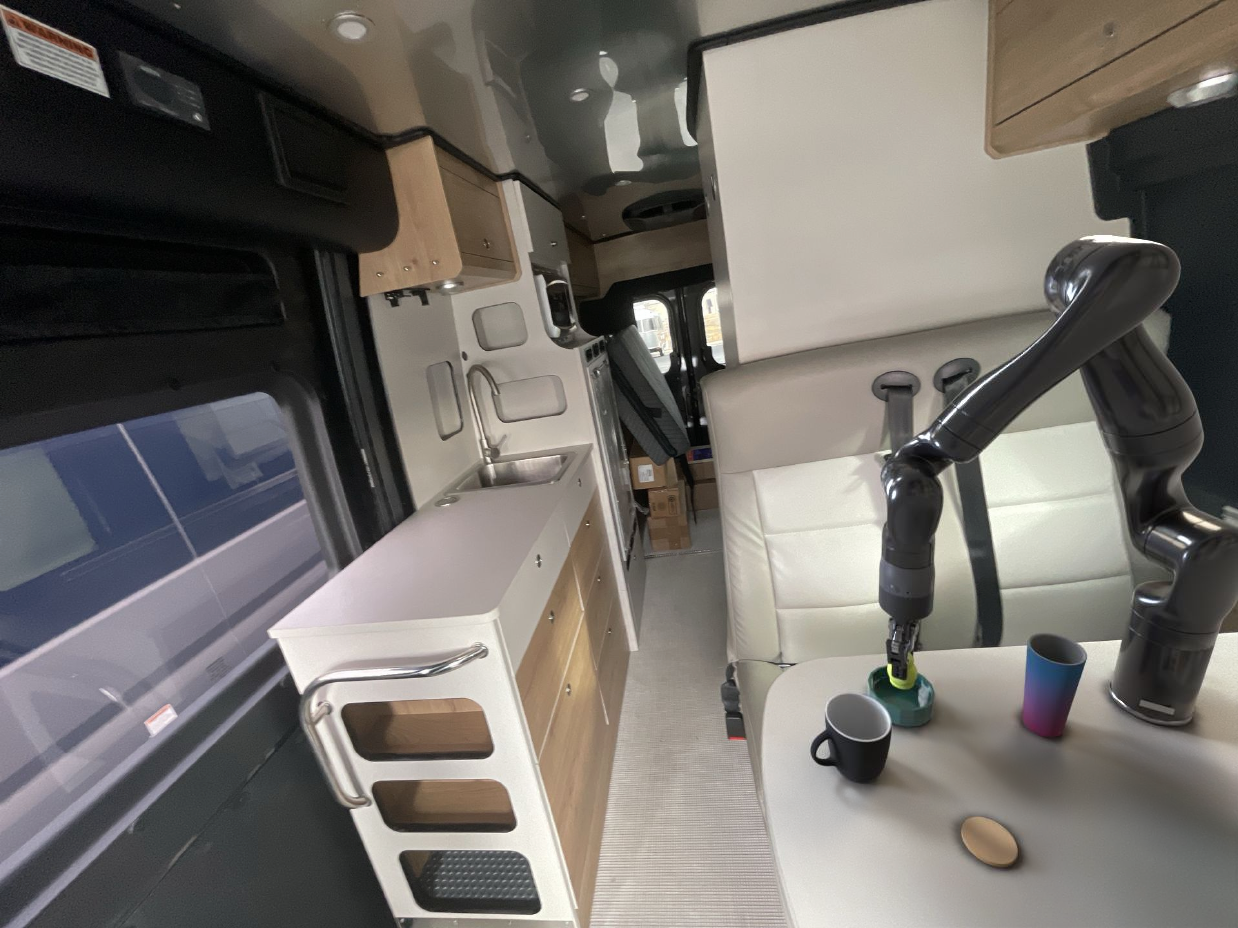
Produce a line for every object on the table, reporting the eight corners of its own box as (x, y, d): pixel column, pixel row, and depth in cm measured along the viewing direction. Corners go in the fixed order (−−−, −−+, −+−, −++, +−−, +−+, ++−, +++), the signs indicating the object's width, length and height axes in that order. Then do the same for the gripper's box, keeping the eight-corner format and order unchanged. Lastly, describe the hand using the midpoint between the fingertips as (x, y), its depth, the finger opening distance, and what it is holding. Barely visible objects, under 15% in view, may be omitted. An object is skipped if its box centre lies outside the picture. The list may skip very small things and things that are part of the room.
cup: (1080, 744, 79) (1098, 665, 74) (1028, 741, 81) (1041, 664, 75) (1055, 707, 85) (1070, 632, 80) (1007, 705, 87) (1018, 632, 81)
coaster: (964, 811, 73) (964, 808, 73) (1018, 834, 69) (1019, 831, 69) (958, 850, 69) (958, 847, 68) (1015, 876, 65) (1016, 873, 65)
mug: (865, 733, 86) (866, 685, 82) (903, 781, 78) (906, 731, 74) (796, 753, 85) (795, 706, 81) (828, 805, 76) (827, 755, 73)
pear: (890, 668, 91) (891, 633, 89) (919, 676, 89) (921, 641, 86) (884, 685, 88) (885, 649, 86) (914, 695, 86) (915, 658, 83)
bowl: (875, 675, 97) (876, 658, 95) (937, 695, 91) (939, 677, 89) (861, 713, 90) (861, 695, 88) (927, 737, 84) (928, 719, 82)
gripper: (925, 615, 74) (919, 707, 80) (942, 562, 84) (936, 648, 90) (867, 601, 79) (866, 689, 85) (890, 552, 89) (887, 634, 95)
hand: (902, 667), depth 87 cm, fingers closed on pear, 4 cm apart
